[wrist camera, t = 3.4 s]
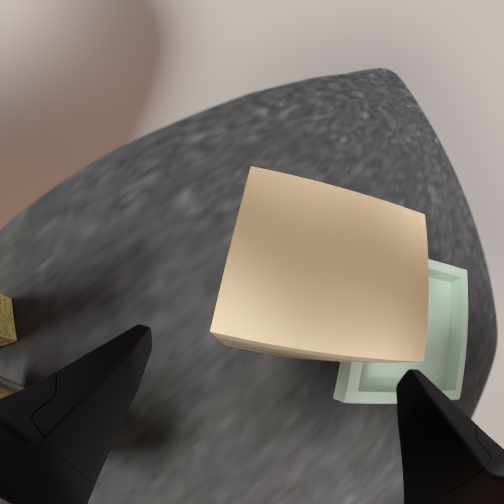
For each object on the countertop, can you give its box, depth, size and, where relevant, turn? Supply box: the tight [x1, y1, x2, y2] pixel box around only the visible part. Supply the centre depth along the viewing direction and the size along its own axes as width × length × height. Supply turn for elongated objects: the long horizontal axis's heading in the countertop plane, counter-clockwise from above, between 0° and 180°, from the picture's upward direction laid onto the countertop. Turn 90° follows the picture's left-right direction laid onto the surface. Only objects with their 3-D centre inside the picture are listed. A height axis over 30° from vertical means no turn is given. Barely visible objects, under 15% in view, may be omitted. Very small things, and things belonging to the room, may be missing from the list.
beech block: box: [210, 166, 429, 363], centre depth 12 cm, size 4×5×13 cm
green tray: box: [333, 259, 468, 404], centre depth 17 cm, size 11×11×2 cm
